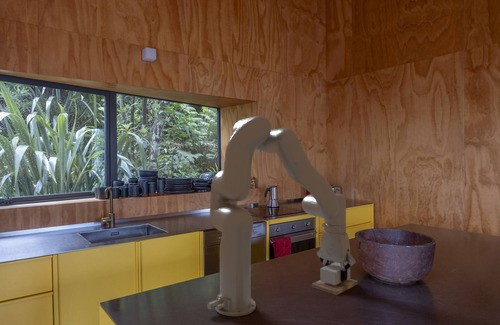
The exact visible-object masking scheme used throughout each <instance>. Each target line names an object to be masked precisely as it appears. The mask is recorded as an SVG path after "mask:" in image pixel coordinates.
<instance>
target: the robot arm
mask: <svg viewBox="0 0 500 325" xmlns="http://www.w3.org/2000/svg"><path fill="white" fill-rule="evenodd" d="M271 123H272V122H271V121H270V120H269V119H268V118H267V117H265V116H262V115H255V116H250V117H247V118H242V119H240V120H238V121H237V122H235V124H234V125H233V127H232V135H231V137H230V139H229V140H228V142H227V144H226V148H225V152H224V162H223V169H221V170H220V171H218V172H217V173H216V174H215V175H214V176H213V178H212V182H211V187H210V200H209V201H210V204H209V217H210V222H211V225H212V226H213V227H214V228H215V229H216V230H217V231H219V232H220V233H221V239H220V244H219V294H217V295H216V296H217V298H216V299H215V300H212V301H210V302H208V303H206V307H207V309H208V310H213V309H215V311H216V312H217V313H218V314H220V315H223V316H227V317H242V316H246V315H250V314H251V313H252V312H254V311H255V310H256V307H257V304H256V301H255V300H254V299H253V298H252V296H251V295H252V294H251V293H252V292H251V288H252V286H251V279H252V278H251V276H252V275H251V272H252V271H251V270H252V269H251V268H252V266H251V261H252V259H251V258H252V257H251V255H252V254H251V253H252V252H251V251H252V250H251V248H252V247H251V245H252V235H253V229H254V220H253V217H252V215H251V214H252V213H250V212H249V211H248V209H246V208H245V207H243V206H240V205H238V202H242V201H245V200H246V199H247V198H248V197H249V195H250V193H251V189H252V188H251V187H252V186H251V185H252V183H251V182H252V164H253V158H254V157H253V156H254V154H255V151H256V150H258V151H260V152H263V153H264V152H265V153H268V154H276V155H277V156H278V158H279V160H280V162H281V164H282V166H283V168H284V170H285V172H286V174H287V175H288V178H290V179H291V180H292V181H294V182H295V183H297V184H298V185H300V186H301V187H303V188H304V189H305V190H306V191H307V192H308V193H310V194H308V195H306V196H304V197H303V199H302V201H301V208H302V210H303V211H304V213H306V214H307V215H310V216H313V217H318V218H322V219H323V221H324V223H323V222H322V224H321V227H322V228H323V230H322V233H321V236H320V242H319V244H320V245H319V250H317V251H316V256H318V259H319V260H320V261H321V263H322V267H325V266H327V265H330V264H331V263H330V262H333V263H334V262H337V263H340V265H341V268H342V270H341V282H344V281H346V280H347V269H349V268H350V269H351V267H352V266H353V265H354V264H356V263H357V260H355V258H354V257H353V255H352V254H351V245H350V239H349V234H348V232H347V199H346V195H344V194H343V193H335V191H334V189H333V187H332V185H331V184H330V183H329V182H328V180H327V179H326V177H324V176H323V175H322V174H321V173H320V172H319V171H318V170H317V169H316V168H314V166H313V165H312V163H311V162H310V160H309V157H308V156H307V153H306V151H305V149H304V147H303V145H302V143H301V141H300V138H298V136H297V133H296V132H295V130H293V129H291V128H288V127H287V128H286V127H284V128H283V127H282V128H272V124H271ZM348 261H349V262H348Z"/></svg>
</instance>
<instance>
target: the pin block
mask: <svg viewBox="0 0 500 325" xmlns="http://www.w3.org/2000/svg"><path fill="white" fill-rule="evenodd" d="M358 283H359V282H358V280H356V279H351V278H349V279H347V280H346V281H344V282H341V283H339V284H337V285H332V284H329V283H325V282H322V281H320V280H317V281H315V282H312V283H311V288H314V289H315V290H316V289H317V290H320V291H323V292H326V293H329V294H331V295H335V296H338V295H340V294H341V293H344V292H345V291H347V290H349V289H351V288H353V287H355V286H357V285H358Z"/></svg>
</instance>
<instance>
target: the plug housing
mask: <svg viewBox="0 0 500 325" xmlns="http://www.w3.org/2000/svg"><path fill="white" fill-rule="evenodd" d="M329 264H330V265H327V266H325V267H324V266H322V267H321V268H319V270H320V274H319V275H320V276H319V277H320V278H319V279H320V281H322V282H325V283H329V284H332V285H337V284H339V283H341V270H342V268H341V265H340V263H337V262H333V263H329ZM347 279H351V267H350V268H349V269H347Z"/></svg>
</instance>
